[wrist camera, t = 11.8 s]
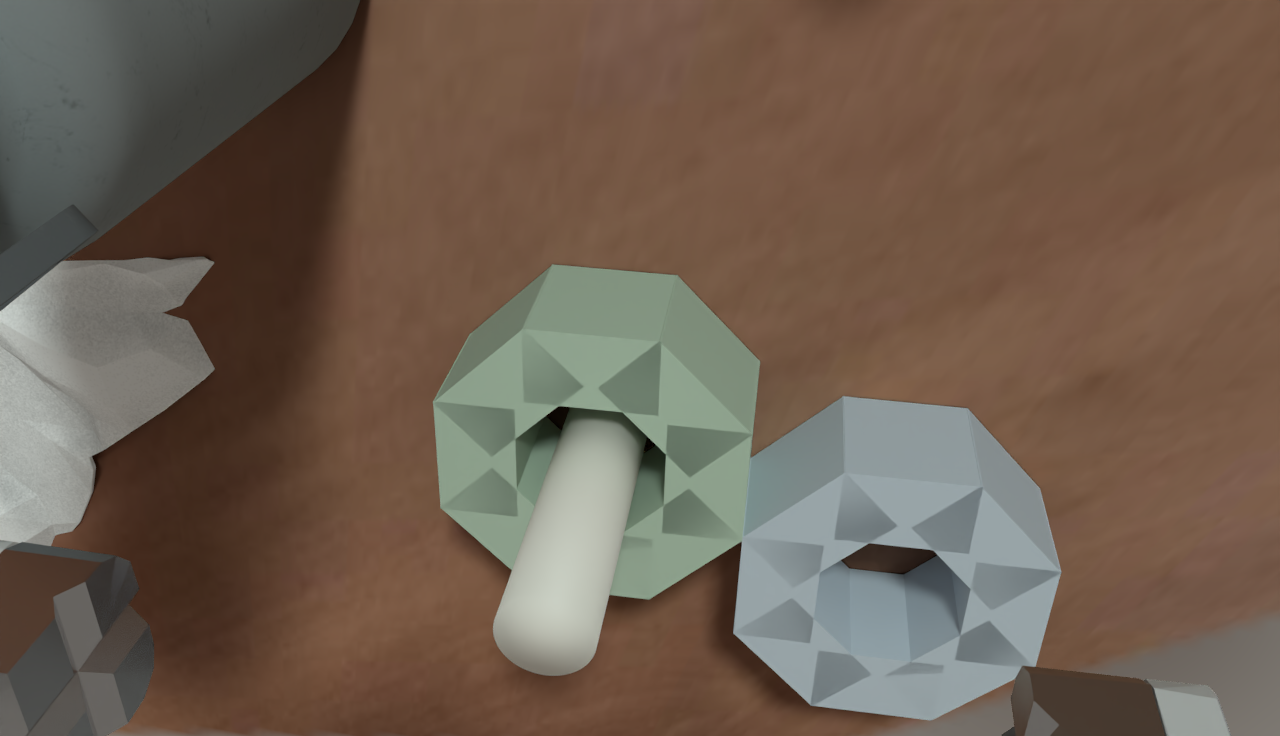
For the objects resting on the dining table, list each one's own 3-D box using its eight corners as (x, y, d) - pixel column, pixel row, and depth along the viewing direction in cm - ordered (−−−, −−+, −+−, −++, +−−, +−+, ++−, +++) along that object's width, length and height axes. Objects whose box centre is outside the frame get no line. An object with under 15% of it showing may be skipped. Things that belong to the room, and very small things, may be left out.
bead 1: (767, 282, 38) (760, 350, 35) (744, 527, 44) (736, 610, 40) (466, 256, 40) (426, 319, 36) (478, 498, 45) (444, 576, 41)
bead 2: (1058, 416, 39) (1082, 496, 36) (1002, 640, 45) (1018, 731, 41) (756, 387, 41) (748, 462, 37) (735, 609, 46) (727, 695, 42)
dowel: (656, 368, 41) (597, 603, 30) (653, 436, 42) (596, 681, 32) (575, 360, 41) (491, 589, 31) (576, 427, 42) (494, 668, 32)
